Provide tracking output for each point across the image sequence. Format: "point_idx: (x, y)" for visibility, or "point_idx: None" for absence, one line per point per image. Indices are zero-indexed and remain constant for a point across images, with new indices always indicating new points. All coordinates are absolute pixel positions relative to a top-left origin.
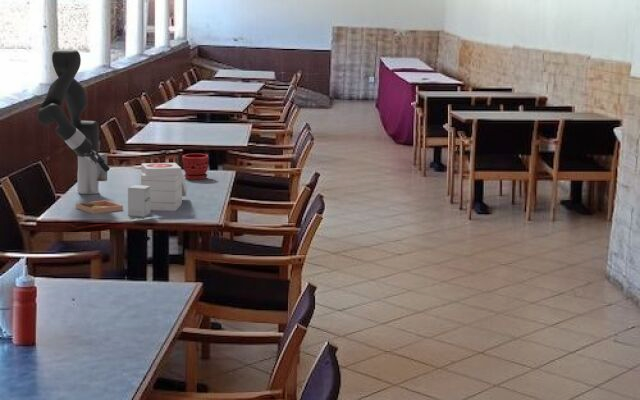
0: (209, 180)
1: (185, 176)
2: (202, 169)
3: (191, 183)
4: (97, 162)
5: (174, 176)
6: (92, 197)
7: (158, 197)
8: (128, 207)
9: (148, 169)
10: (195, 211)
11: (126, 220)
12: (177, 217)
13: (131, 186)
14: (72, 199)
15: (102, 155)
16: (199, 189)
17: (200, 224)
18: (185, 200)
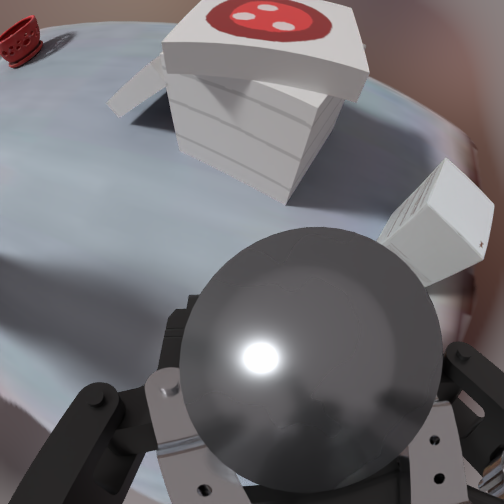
0: (54, 41)
1: (16, 65)
2: (38, 34)
3: (49, 58)
4: (460, 436)
5: (364, 46)
6: (16, 295)
7: (323, 133)
8: (432, 283)
9: (367, 69)
10: (349, 101)
11: (441, 309)
12: (417, 164)
13: (462, 233)
14: (20, 372)
15: (440, 362)
16: (101, 47)
17: (474, 161)
18: None
